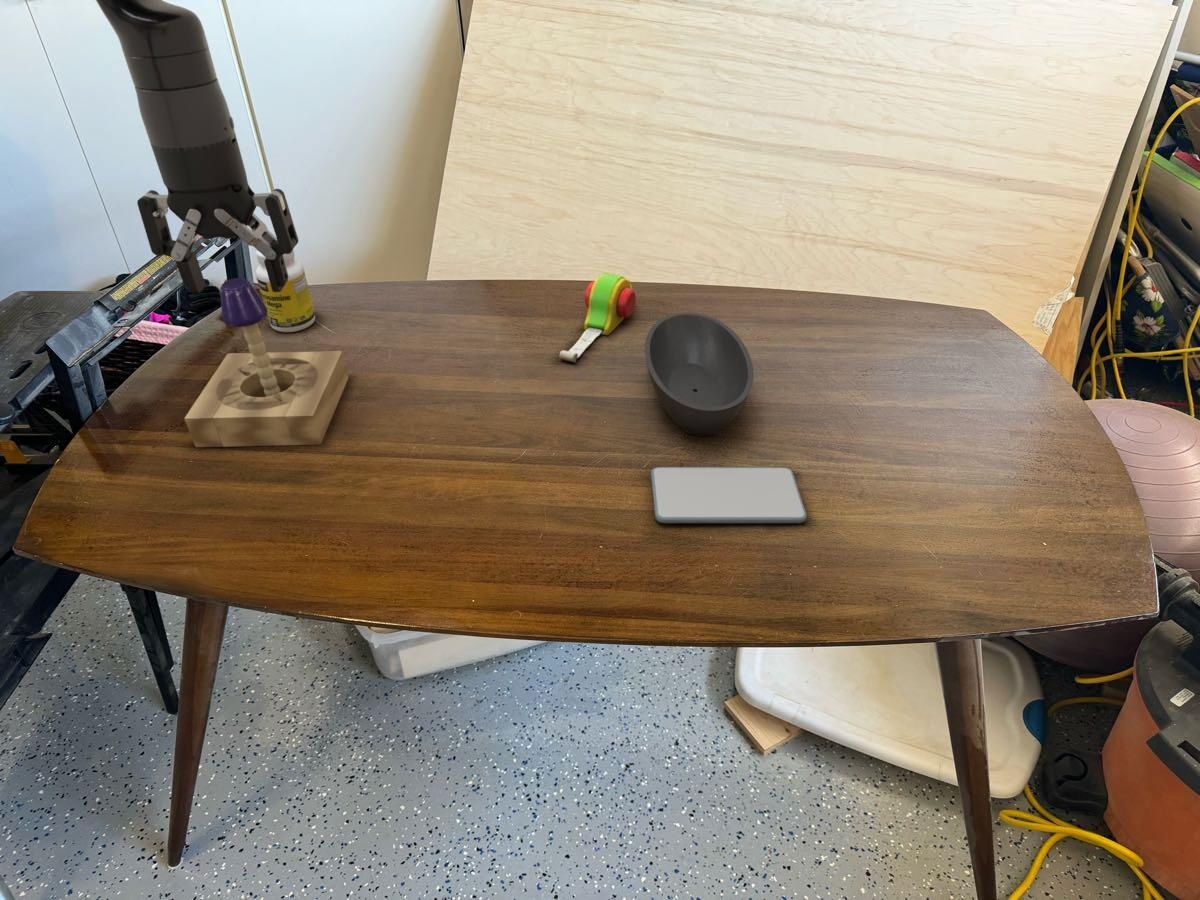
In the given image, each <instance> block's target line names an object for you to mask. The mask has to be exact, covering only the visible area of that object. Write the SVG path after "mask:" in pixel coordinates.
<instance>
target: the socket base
mask: <svg viewBox="0 0 1200 900" xmlns="http://www.w3.org/2000/svg"><path fill="white" fill-rule="evenodd" d="M267 353H268V355H269V357H270V364H271V365H272V367H273V370H274V373H273V374H274V375H275V377H276V379H277V385H278V387H279V388H280V390H281V393H278V394H276V395H272V396H267V397H266V396H265V393H264V387H263V386H262V385H261V382H260V378H261V377H260V376H259V375H258V374H257V371H256V365H255V364H254V362H253V359H252V354H251V352H234V353H233V352H232V353H227V354H226V355H225V357H224V358H223V360H222V362H221V363H220V365H219V366H218V367H217V369H216V371H215V372H214V374H213V375H212V376H211V377H210V379H209V380H208V382H207V384H206V385H205V387H204V388H203V389H202V391H201V393H200V395H199V396H198V397H197V399H196V400H195V402H194V403H193V404H192V406H191V408H190V409H189V411H187V412H188V413H187V414H186V415H185V417H184V418H183V419H184V421H185V424H186V427H187V429H188V432H189V434H190V437H191V439H192V442H193V444H194V447H195V448H222V447H224V448H225V447H226V448H228V447H229V448H230V447H272V446H273V447H274V446H318V445H321V446H322V443H323V440H324V438H325V436H326V433H327V431H328V428H329V426H330V423H331V421H332V419H333V416H334V414H335V411H336V410H337V407H338V404H339V402H340V400H341V397H342V394H343V393H344V390H345V387H346V385H347V382H348V380H349V375H348V371H347V366H346V362H345V358H344V357H345V356H344V354H343V351H342V350H328V351H327V350H323V351H318V350H317V351H279V352H278V351H277V352H274V351H273V352H267Z"/></svg>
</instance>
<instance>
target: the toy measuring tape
mask: <svg viewBox="0 0 1200 900" xmlns="http://www.w3.org/2000/svg"><path fill="white" fill-rule="evenodd" d="M633 288H634V287H633V286H632V284H631V280H630V279H629V278H628V279H626V278H625V277H624V276H622V275H617V274H614V273H608V272H607V273H603V274H600V275H598V277H597V278H596V279H595V280H593V281H591V282H590V283H589V284H588V286H587V287H586V290H585V293H584V305H585V307H586V309H587V313H586V317H585V320H584V323H583V324H584V325H583V329H584V332H583V333H582V334H581V335H580V338H579V339H578V340H577V341H576V343H574V345H573V346H572V347H571V348H570V349H569V350H566V349H561V351H560V352H559V357H558V358H559V359H560V360H563V361H567V362H570V363H577V360H578V358H580V357H581V356H582V354H583V353H584V352H585V351H586V349H588V347H589V346H590V345H591V344H592V343H593V342H594V341H595V340H596V338H598V337H599V336H600V335H604V336H609V335H610V334H611V333H612V332H613V331H614V330H615V329H616V328H617V327H618V326H619V325H620V324H621V322H623V320H624V318H625V319H626V318H629V317H630V316H631V315H632V314H633V312H634V310H635V307H636V301H637V300H636V299H637V297H636V296H637V295H636V292H635V290H634V289H633Z"/></svg>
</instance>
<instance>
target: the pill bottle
mask: <svg viewBox="0 0 1200 900" xmlns="http://www.w3.org/2000/svg"><path fill="white" fill-rule="evenodd" d="M255 256H256V260H257V262H258V263H259V265H258V266H257V267H256V270H255V277H256V281H257V284H258V288H259V291H260V294H261V299H262V301H263V303H264V304H265V306H266V308H267V315H266V317H267V320H268V322H269V325H270V327H271V328H272V329H273V330H275V331H278V332H280V333H294V332H300V331H302V330H306V329H307V328H309V327H310V326H312V325H313V324H314V323H315V321H316V313H315V309H314V305H313V301H312V297H311V293H310V289H309V284H308V280H307V277H306V272H305V269H304V266H303V264H302V262H300V261H299V260H298V259H296V258H295V251H294V249H293V250H292V252H291V253H290V254H283V258H284V262H285V265H286V269H287V273H288V281H287V283H286V284H285V286H284V287H283V289H282V290H281V292H273V291H272V288H271V284H270V281H269V277H268V274H267V270H266V266H265V263H264V260H265V259H266V257H265V256H264V255H262V254H261V253H260V252H259V251H258V250H257V249H255Z"/></svg>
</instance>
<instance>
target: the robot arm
mask: <svg viewBox="0 0 1200 900" xmlns="http://www.w3.org/2000/svg"><path fill="white" fill-rule="evenodd" d="M95 1H96V3H97V5H98V7H99V8H100V10H101V11H102V13H103V15H104V16H105V18H106V19H107V21H108V22H109V25H110V26H111V27H112V29H113V31H114V33H115V35H116V36H117V38H118V41H119V44H120V46H121V50H122V53H123V57H124V59H125V62H126V65H127V68H128V71H129V74H130V77H131V80H132V85H134V90H135V94H136V98H137V103H138V109H139V113H140V116H141V120H142V123H143V126H144V129H145V131H146V135H147V137H148V140H149V143H150V146H151V150H152V152H153V155H154V159H155V161H156V164H157V168H158V170H159V173H160V176H161V179H162V182H163V185H164V186H165V187H166V189H167V194H160V193H159V192H157V190H154V189H150V190H149V191H147V192H146V193H145V194H144V195H142V196H141V197H140V198H139V199H138V200H137V207H138V210H139V214H140V217H141V221H142V224H143V227H144V231H145V234H146V238H147V240H148V245H149V247H150V251H151V252H152V254H153V255H155V256H157V257H161V256H166V257H170V258H171V259H172V260H173V261H174V262H175V264H176V267H177V269H178V273H179V275H180V279H181V281H182V284H183V285H184V286H185V288H187V289H189V290H190V293H191V294H200V293H202V291H203V290H204V289H205V287H206V281H205V278H204V275H203V272H202V269H201V267H200V263H199V260H198V258H197V255H196V252H193V253H192V250H193V248H194V246H195V244H196V242H197V240H198V238H199V236H200V237H203V239H204V240H212V239H216V238H223V239H230V240H231V239H235V240H236V238H237V237H239V239H241V240H242V241H243V242H244V243H245V244H246V245H248V246H250V247H253V248H254V249H255V250H258V251H259V252H260V253H261V254H262V255H264V256H265V257H266V259H265V260H264V263H265V266H266V270H267V274H268V277H269V281H270V284H271V288H272V291H273V292H281V290H282V289H283V287H284V286H285V284H286V283H287V281H288V273H287V269H286V265H285V262H284V258H283V254H290V253H291V252H292V250H293V251H294V248H295V247H296V246H297V245H298V244H299V237H298V233H297V230H296V227H295V223H294V220H293V218H292V214H291V211H290V208H289V204H288V201H287V198H286V194H285V192H284V191H283V190H282V189H280V188H274V189H273V190H272V191H270V192H262V193H255V192H254V191H253V189H252V188H251V187H250V185H249V182H248V176H247V172H246V168H245V164H244V160H243V157H242V153H241V149H240V146H239V145H240V144H239V142H238V139H237V134H236V131H235V123H234V118H233V117H232V115H231V113H230V108H229V105H228V102H227V99H226V97H225V95H224V92H223V90H222V88H221V87H222V86H221V85H220V82H219V79H218V76H217V72H216V69H215V64H214V62H213V58H212V55H211V51H210V48H209V43H208V39H207V35H206V33H205V30H204V26H203V24H202V22H201V19H200V17H199V16H198V15H197V14H196V13H195V12H193V11H192V10H190V9H188V8H185V7H183V6H179V5H176V4H172V3H169V2H167V1H164V0H95ZM257 207H259V208H260V209H261V210H262V212H263V214H264V215H265V216H267V217H269V219H270V222H271V225H272V229H273V231H274V234H275V235H274V234H273V233H272V232H270V230H269V229H268V226H267V224H265V222H263V221H262V220H261V219H260V218H259V217H258V216H257V215H256V214H255V211H256V208H257ZM169 210H170V211H171V212H172V213H173V214H174V215H175V216H176V217H177V218H178V219H180V220H181V221H182V222H183V223H182V226H181V228H180V230H179V232H178V234H177V237H176V240H174V239H173V238H172V237H173V236H172V234H171V230H170V227H169V222H168V219H167V216H166V215H167V214H169V213H168V212H169Z"/></svg>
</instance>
